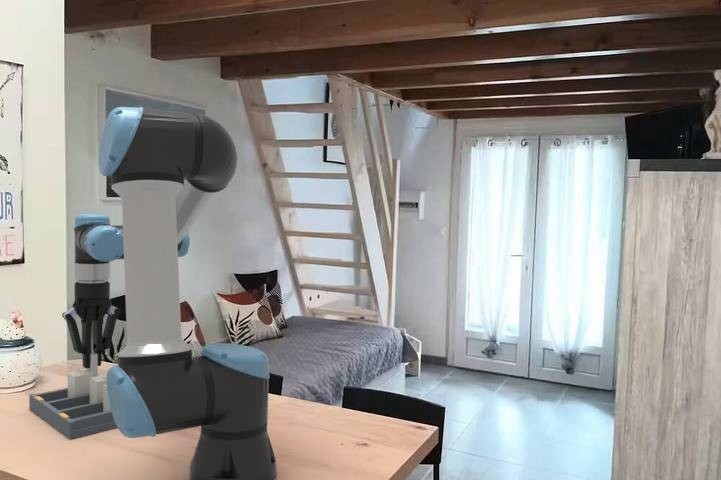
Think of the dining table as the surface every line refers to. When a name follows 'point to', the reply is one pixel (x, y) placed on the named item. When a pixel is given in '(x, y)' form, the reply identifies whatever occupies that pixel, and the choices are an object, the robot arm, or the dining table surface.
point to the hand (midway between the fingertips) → (91, 380)
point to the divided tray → (71, 413)
